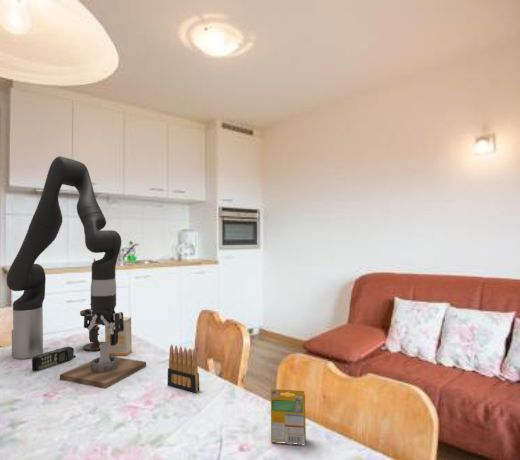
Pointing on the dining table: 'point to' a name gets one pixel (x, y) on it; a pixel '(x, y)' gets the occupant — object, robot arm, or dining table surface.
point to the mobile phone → (52, 358)
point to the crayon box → (288, 416)
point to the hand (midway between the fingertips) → (103, 343)
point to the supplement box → (121, 339)
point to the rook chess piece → (104, 353)
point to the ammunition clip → (183, 370)
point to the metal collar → (104, 365)
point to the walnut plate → (102, 379)
